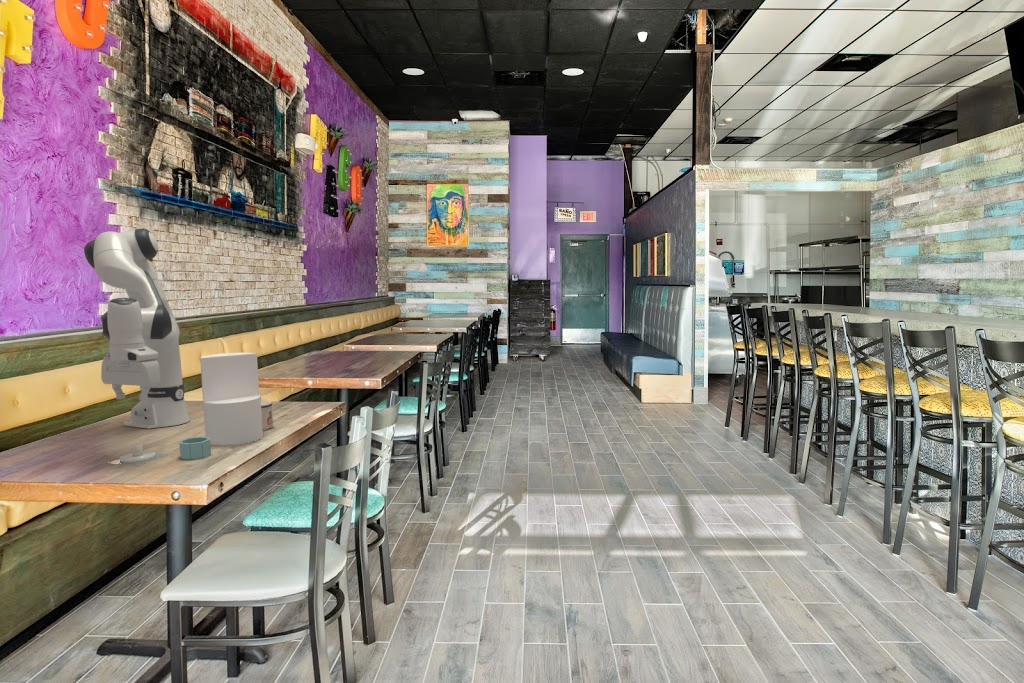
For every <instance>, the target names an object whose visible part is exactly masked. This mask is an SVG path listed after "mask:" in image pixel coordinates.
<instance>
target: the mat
mask: <svg viewBox="0 0 1024 683" xmlns="http://www.w3.org/2000/svg"><path fill="white" fill-rule="evenodd" d="M169 455H171V453H163V452H162V453H158V452H155V457H154V458H153V459H150V460H147V461H143V462H137V463H121V462H120V463H121V464H120V463H119V464H118V466H129V465H130V467H131V466H133V467H140V466H142V465H145V464H147V463H150V462H153V461H156V460H158V459H159V460H160V459H162V458H164V457H167V456H169Z"/></svg>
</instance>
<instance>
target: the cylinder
mask: <svg viewBox="0 0 1024 683" xmlns="http://www.w3.org/2000/svg"><path fill="white" fill-rule="evenodd" d="M199 360H200V373H201V374H200V376H201V391H202V404H203V405H202V406H203V408H202V409H203V419H204V420H203V421H204V434H205V436H204V437H209V438H210V445H211V446H223V447H224V446H235V445H236V446H237V445H241V444H242V445H245V444H244V443H247V444H249V443H248V442H251V443H253V442H252V441H255V440H257V441H259V440H258V439H260V438H261V437H262V436H263V437H264V435H263V434H264V433H263V431H264V430H262V412H261V399H262V395H260V383H259V382H260V381H259V366H258V353H256V352H226V353H225V352H224V353H215V354H208V355H202V356H200V357H199ZM263 437H262V438H263ZM262 438H261V439H262ZM261 439H260V440H261ZM255 442H256V441H255Z"/></svg>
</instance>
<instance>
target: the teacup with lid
mask: <svg viewBox="0 0 1024 683" xmlns="http://www.w3.org/2000/svg"><path fill="white" fill-rule="evenodd" d="M261 412H262V430H263V431H267V430H266V429H268V430H270V429H269V428H271V429H273V426H274V424H273V423H274V422H273V421H274V420H273V402H272V401H270V400H266V398H261Z"/></svg>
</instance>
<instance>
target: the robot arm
mask: <svg viewBox="0 0 1024 683" xmlns="http://www.w3.org/2000/svg"><path fill="white" fill-rule="evenodd" d="M83 251H84V257H85V260H86V262H87V263H88V264H89V265H90V267H91V268H92V269H94V270H95V272H96V275H97V277H98V278H99V280H100V281H101V282H102V283H105V284H106V285H108V286H110V287H113V288H116V289H123V290H125V291H126V294H127V297H116V298H112V299H110V300H109V301H108V303H107V311H106V312H105V313H103V314H102V315H101V316H100V320H101V327H102V333H101V334H102V336H103V337H104V338H107V339H108V340H109V343H108V344H109V352H107V353H106V354H105V355H104V356H103V359H102V362H101V367H100V368H101V374H100V375H101V376H100V377H101V381H102V383H103V385H111V388H112V390H113V392H114V393H115V400H123V399H125V398H126V393H125V392H124V391H123V389H122V387H123V386H124V385H125V386H138V387H139V389H140V390H141V391H140V394H138V401H139V402H137V404H135V405H133V407H132V408H131V410H130V419H129V420H126V421H124V422H123V426H126V427H133V428H141V429H156V428H165V427H172V426H173V427H174V426H178V425H181V424H182V425H183V424H186V423H188V422H190V421H191V419H190V416H189V414H188V409H187V406H186V400H185V393H186V392H185V384H184V383H183V372H182V371H183V370H182V361H181V360H182V359H181V351H180V342H179V341H180V340H179V338H180V336H181V335H180V332H181V331H180V327H179V325H178V323H177V320H176V317H175V315H174V313H173V311H172V309H171V308H172V307H171V306H170V304H169V302H168V300H167V297H166V294H165V292H164V289H163V287H162V284H161V282H160V279H159V277H158V275H157V272H156V271H155V268H154V267H153V264H152V262H153V260H154V258H155V257H157V254H158V252H159V246H158V241H157V238H156V236H155V235H154V234H153V233H152V231H151V230H149V229H147V228H136V229H134V230H127V231H121V232H117V231H114V230H113V231H104V232H102V233H100V234H98V235H97V237H96V238H95V239H92V240H91V241H88V242H87V243H86V244H85V245H84V248H83Z"/></svg>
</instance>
